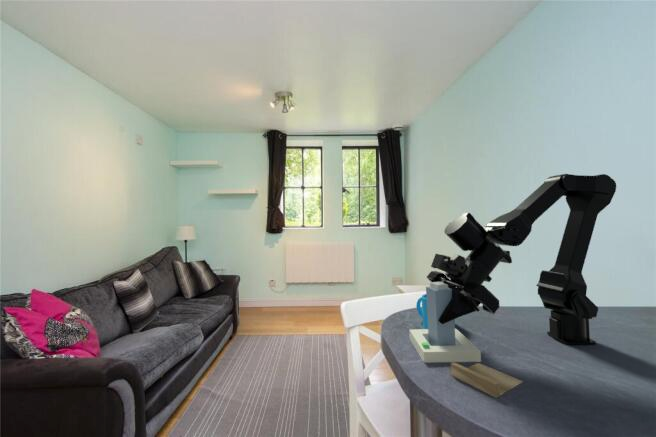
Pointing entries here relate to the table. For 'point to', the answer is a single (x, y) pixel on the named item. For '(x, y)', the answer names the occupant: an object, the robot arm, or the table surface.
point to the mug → (423, 310)
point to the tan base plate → (485, 378)
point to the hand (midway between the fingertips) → (434, 319)
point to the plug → (436, 305)
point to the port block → (444, 348)
